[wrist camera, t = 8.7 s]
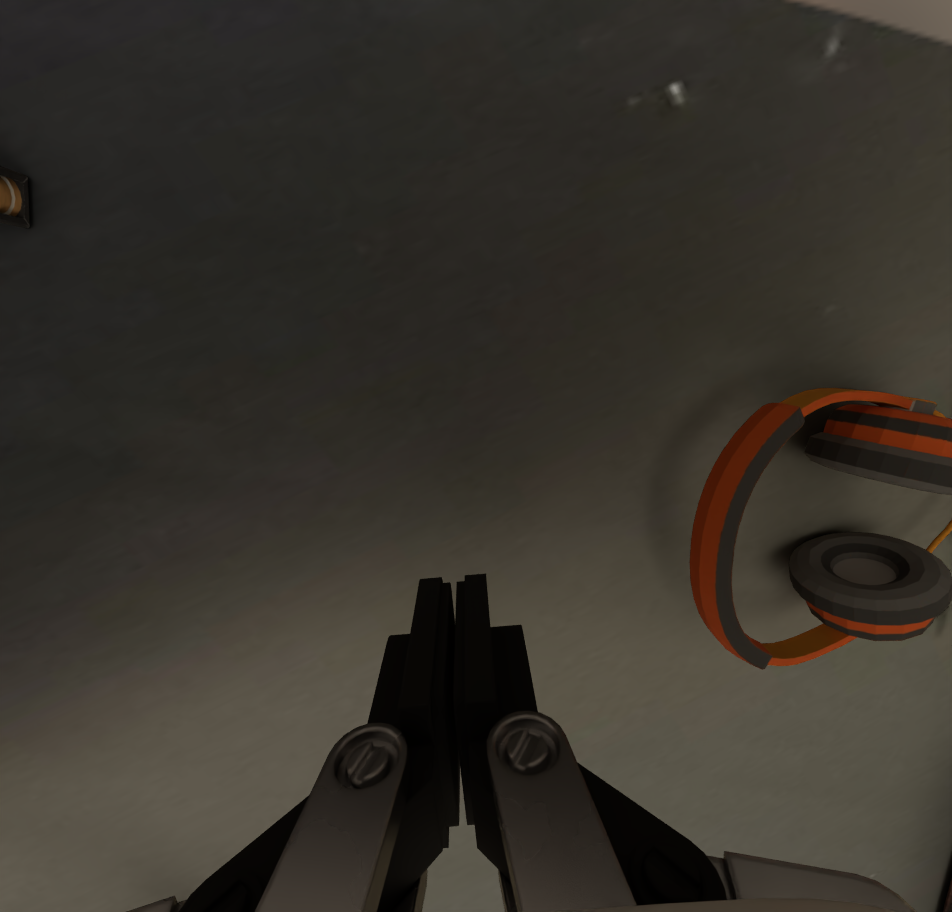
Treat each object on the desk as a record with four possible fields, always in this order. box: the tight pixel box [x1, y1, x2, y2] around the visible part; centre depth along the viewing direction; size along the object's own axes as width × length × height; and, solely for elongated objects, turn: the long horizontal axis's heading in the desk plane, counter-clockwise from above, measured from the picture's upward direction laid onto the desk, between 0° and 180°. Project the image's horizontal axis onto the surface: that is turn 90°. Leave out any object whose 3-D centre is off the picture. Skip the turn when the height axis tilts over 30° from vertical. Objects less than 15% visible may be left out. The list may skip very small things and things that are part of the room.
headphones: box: [690, 388, 952, 669], centre depth 19 cm, size 17×5×20 cm
